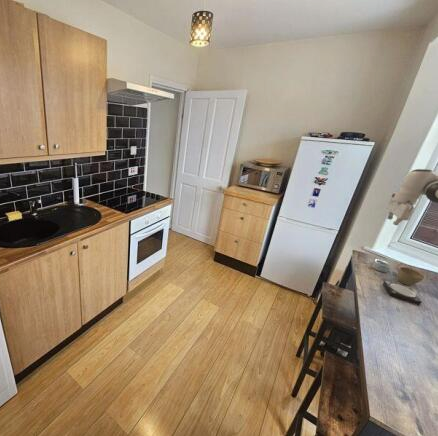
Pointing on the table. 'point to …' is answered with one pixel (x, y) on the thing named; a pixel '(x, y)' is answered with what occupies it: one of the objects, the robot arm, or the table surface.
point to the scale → (402, 293)
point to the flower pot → (409, 276)
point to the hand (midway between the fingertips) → (392, 221)
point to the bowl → (381, 265)
